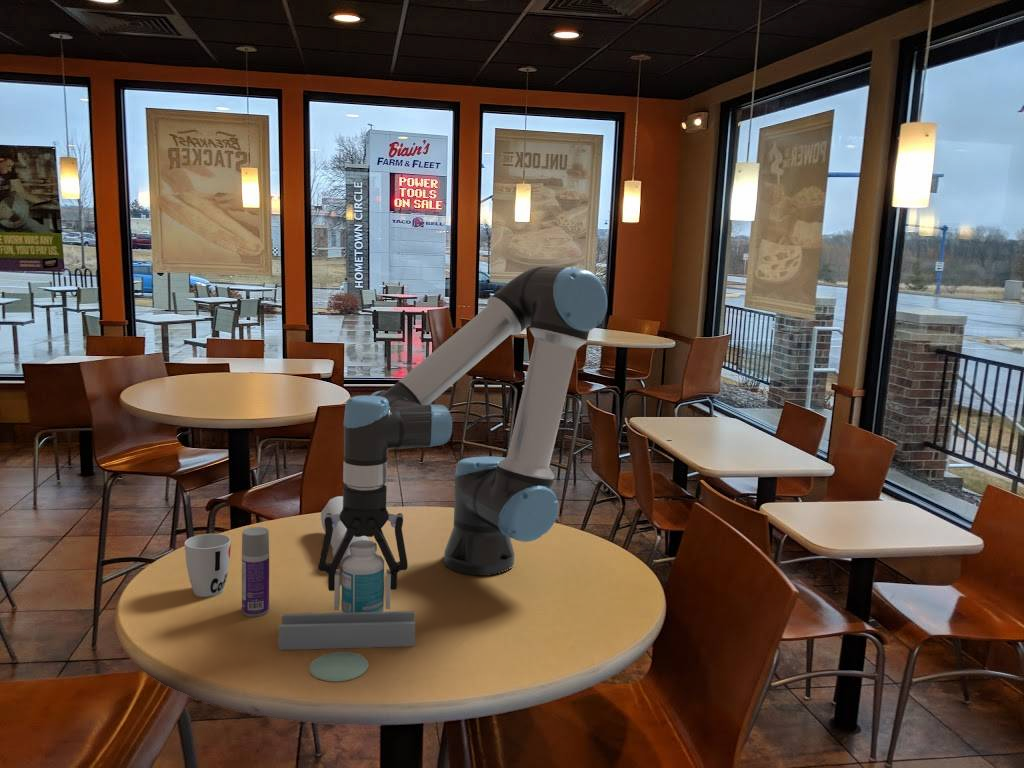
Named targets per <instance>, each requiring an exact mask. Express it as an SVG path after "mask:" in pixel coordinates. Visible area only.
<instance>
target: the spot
mask: <svg viewBox="0 0 1024 768" xmlns="http://www.w3.org/2000/svg"><path fill="white" fill-rule="evenodd" d="M368 668H369V662H368V660H367V658H366V657H365V656H362V655H361V654H358V653H355V652H349V651H336V652H335V651H334V652H329V653H326V654H322V655H320V656H319V657H316V658H315V659H313V660H312V661H311V663H310V665H309V672H310V674H311V675H312V676H313V677H314V678H316V679H318V680H320V681H324V682H332V683H337V682H338V683H341V682H348V681H352V680H354V679H357V678H359V677H361V676H362V675H364V674H365V673H366V672H367V671H368Z"/></svg>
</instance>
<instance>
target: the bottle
mask: <svg viewBox="0 0 1024 768" xmlns="http://www.w3.org/2000/svg"><path fill="white" fill-rule="evenodd" d="M342 509H343V495H342V496H341V495H340V496H338V495H337V496H335V497H333V498H330V499H329V500H328V502H327V503H326V505H325V506H324V508H323V509H322V510H321V511H320V521H321V525H322V528H323V530H324V533H325V532H326V528H325V522H324V521H325V516H326V514H328V513H330V514H332V515H335V514H340V513H341V511H342ZM346 531H347V528H346V527H345V526H344V524H343V523H342V522H341V521H339V522H338V523H337V526H336V527H335V528H333V533H332V538H331V542H330V546H331V547H332V557H334V555H335V553H336V551H337V549H338V547H339V545H340V543H341V541H342V539H343V537H344V535H345V533H346ZM360 540H368V541H370V539H369V537H367V536H361V537H355V536H353V538H352V540H351V542H350V544H351V543H353V542H355V541H360ZM350 544H349V546H348V548H347V550H346V552H345V554H344V556H343V558H342V560H341V562H340V564H339V565H340V566H341V567H342V562H343V560H344V558H345V557H346V556H348V555H349V554H351V553H350Z"/></svg>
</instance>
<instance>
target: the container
mask: <svg viewBox="0 0 1024 768" xmlns="http://www.w3.org/2000/svg"><path fill="white" fill-rule="evenodd" d="M269 530H270V529H268V528H266V527H262V526H254V527H253V526H252V527H248V528H245V529H243V530H242V535H241V614H242V615H243V616H246V617H250V618H251V617H252V618H253V617H255V618H256V617H261V616H264V615H266V614H267V613H268V612H270V540H269V539H270V536H269V535H270V534H269Z"/></svg>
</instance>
